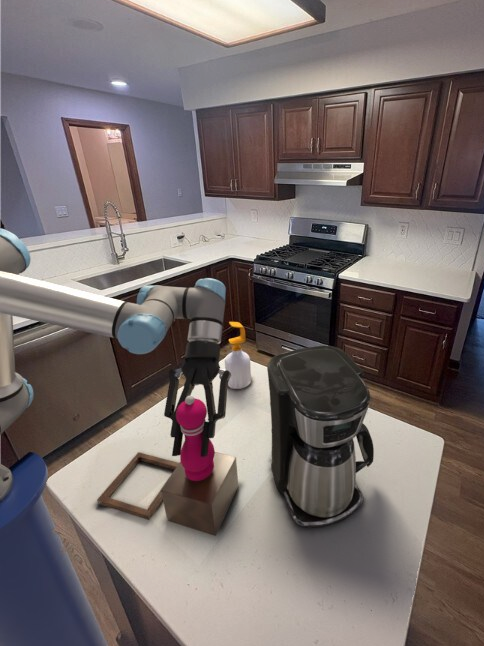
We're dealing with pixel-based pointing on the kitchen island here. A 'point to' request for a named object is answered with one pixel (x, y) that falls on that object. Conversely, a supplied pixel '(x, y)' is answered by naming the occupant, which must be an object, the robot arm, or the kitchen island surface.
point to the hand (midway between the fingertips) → (190, 455)
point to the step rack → (184, 494)
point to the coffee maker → (318, 432)
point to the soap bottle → (238, 361)
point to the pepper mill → (194, 439)
